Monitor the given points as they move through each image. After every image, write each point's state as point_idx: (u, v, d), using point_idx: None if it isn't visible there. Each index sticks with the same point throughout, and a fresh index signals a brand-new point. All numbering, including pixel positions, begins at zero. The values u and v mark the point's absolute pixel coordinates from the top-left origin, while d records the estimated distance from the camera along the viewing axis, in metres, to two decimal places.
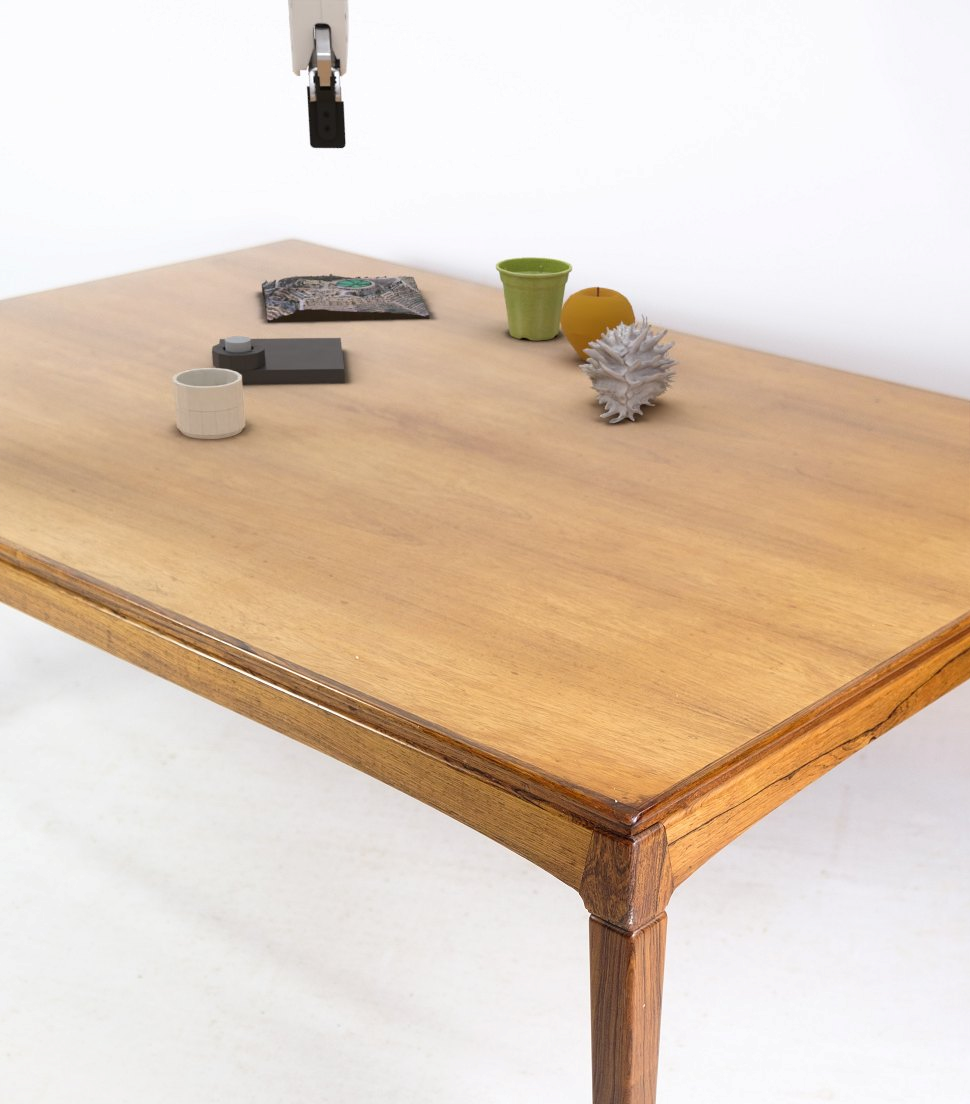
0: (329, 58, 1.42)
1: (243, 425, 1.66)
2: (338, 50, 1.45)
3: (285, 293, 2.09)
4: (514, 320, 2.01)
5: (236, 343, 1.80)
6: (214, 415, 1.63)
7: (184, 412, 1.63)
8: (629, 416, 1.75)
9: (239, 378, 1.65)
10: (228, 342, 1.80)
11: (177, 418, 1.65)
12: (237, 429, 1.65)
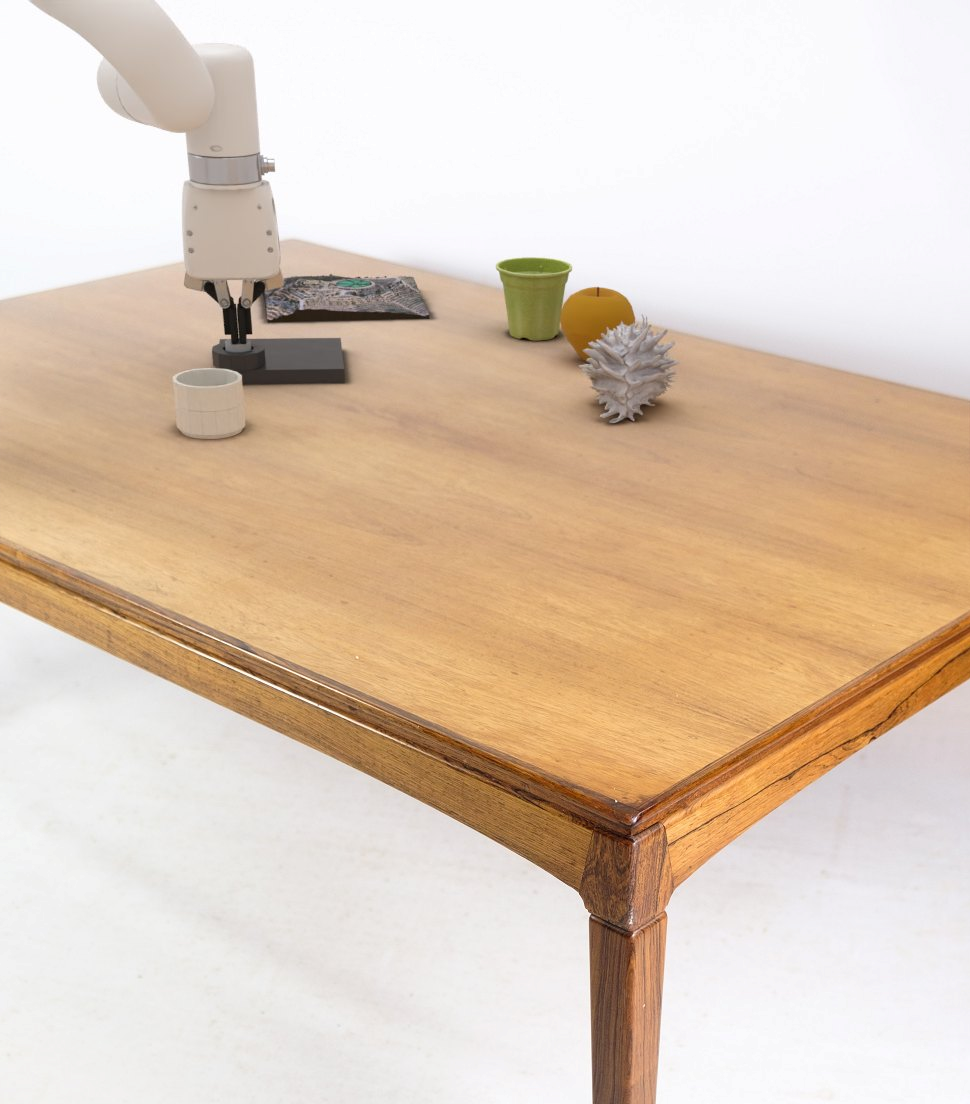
0: (185, 286, 1.77)
1: (243, 425, 1.66)
2: None
3: (285, 293, 2.09)
4: (514, 320, 2.01)
5: (236, 345, 1.80)
6: (214, 415, 1.63)
7: (184, 412, 1.63)
8: (629, 416, 1.75)
9: (239, 378, 1.65)
10: (228, 344, 1.80)
11: (177, 418, 1.65)
12: (237, 429, 1.65)
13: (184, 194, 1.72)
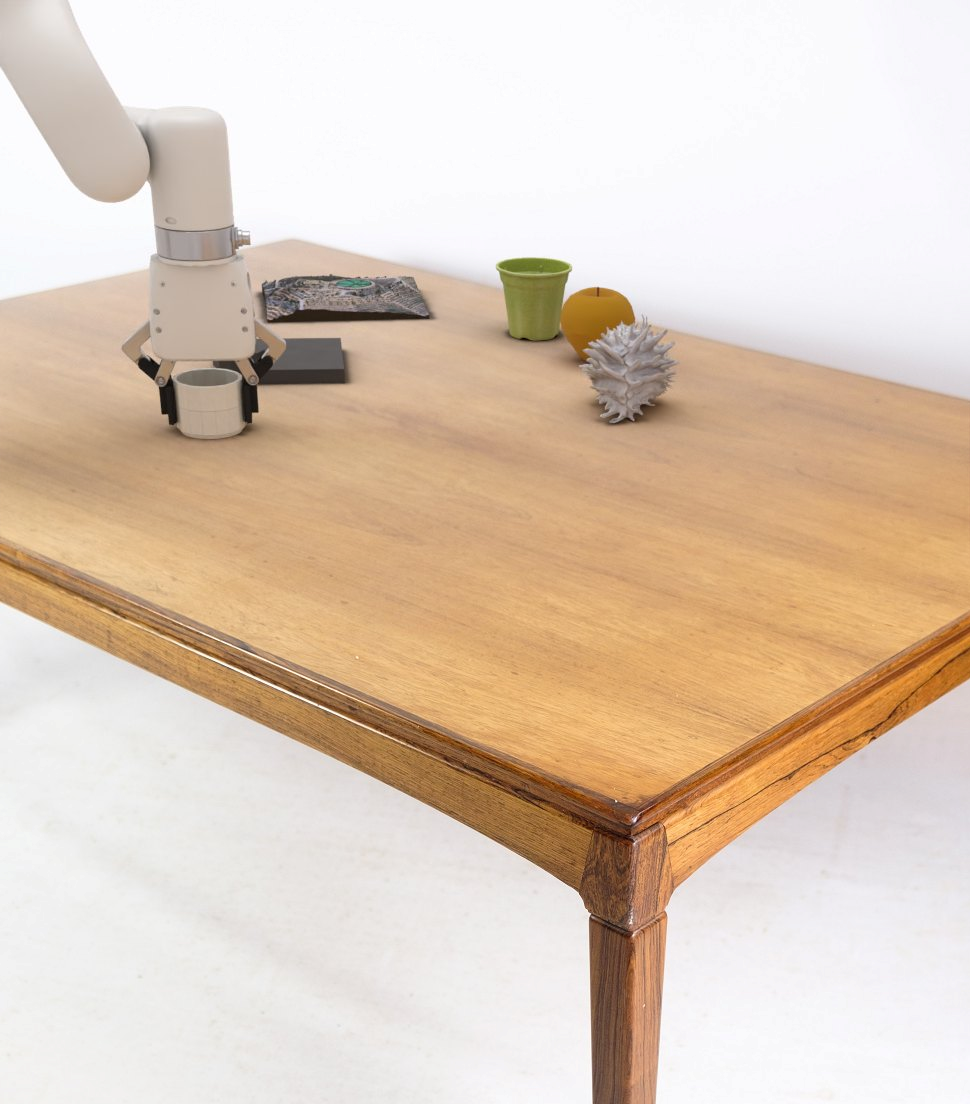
0: None
1: (243, 425, 1.66)
2: None
3: (285, 293, 2.09)
4: (514, 320, 2.01)
5: None
6: (214, 415, 1.63)
7: (184, 412, 1.63)
8: (629, 416, 1.75)
9: (239, 378, 1.65)
10: None
11: (177, 418, 1.65)
12: (237, 429, 1.65)
13: (151, 270, 1.58)
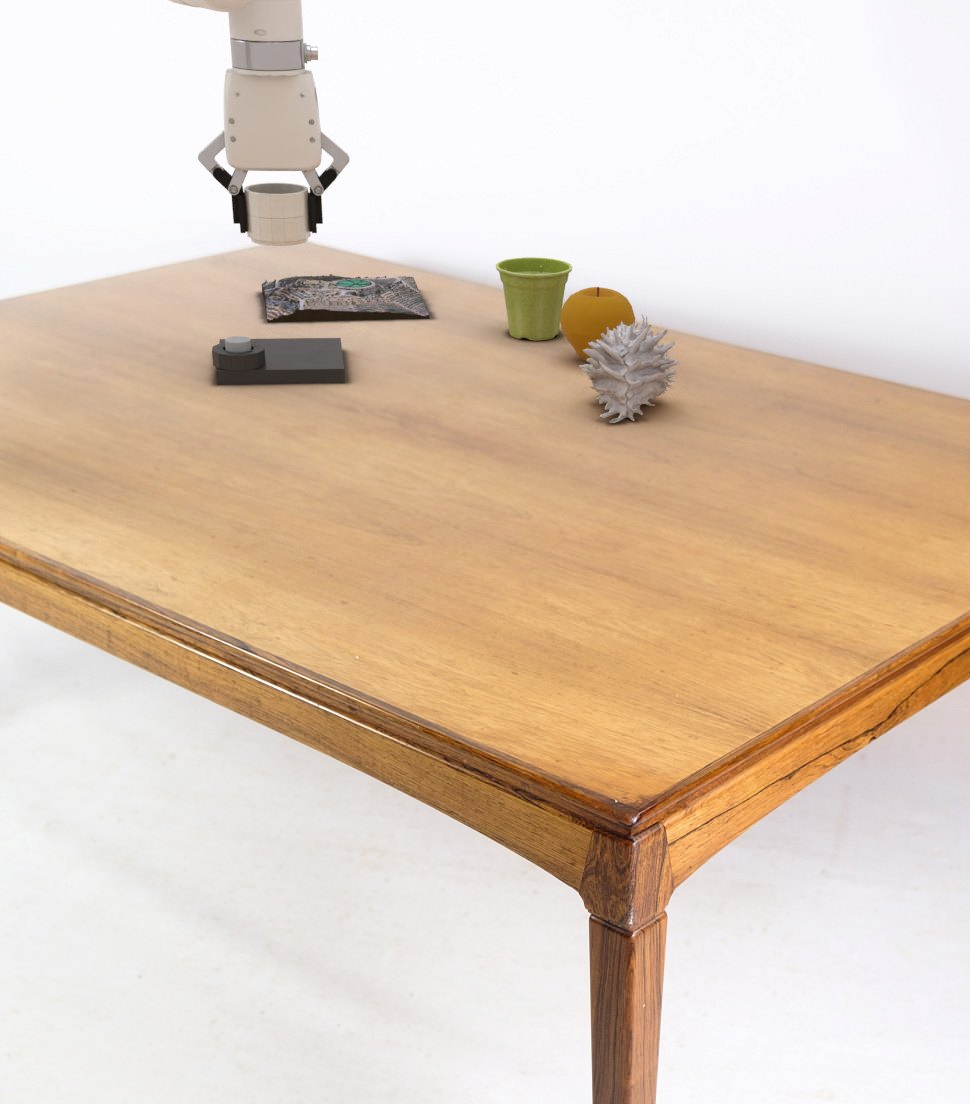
0: (198, 158, 1.74)
1: (309, 235, 1.79)
2: None
3: (285, 293, 2.09)
4: (514, 320, 2.01)
5: (236, 343, 1.80)
6: (283, 222, 1.76)
7: (255, 219, 1.76)
8: (629, 416, 1.75)
9: (306, 189, 1.77)
10: (228, 342, 1.80)
11: (248, 226, 1.78)
12: (303, 237, 1.78)
13: (226, 81, 1.70)
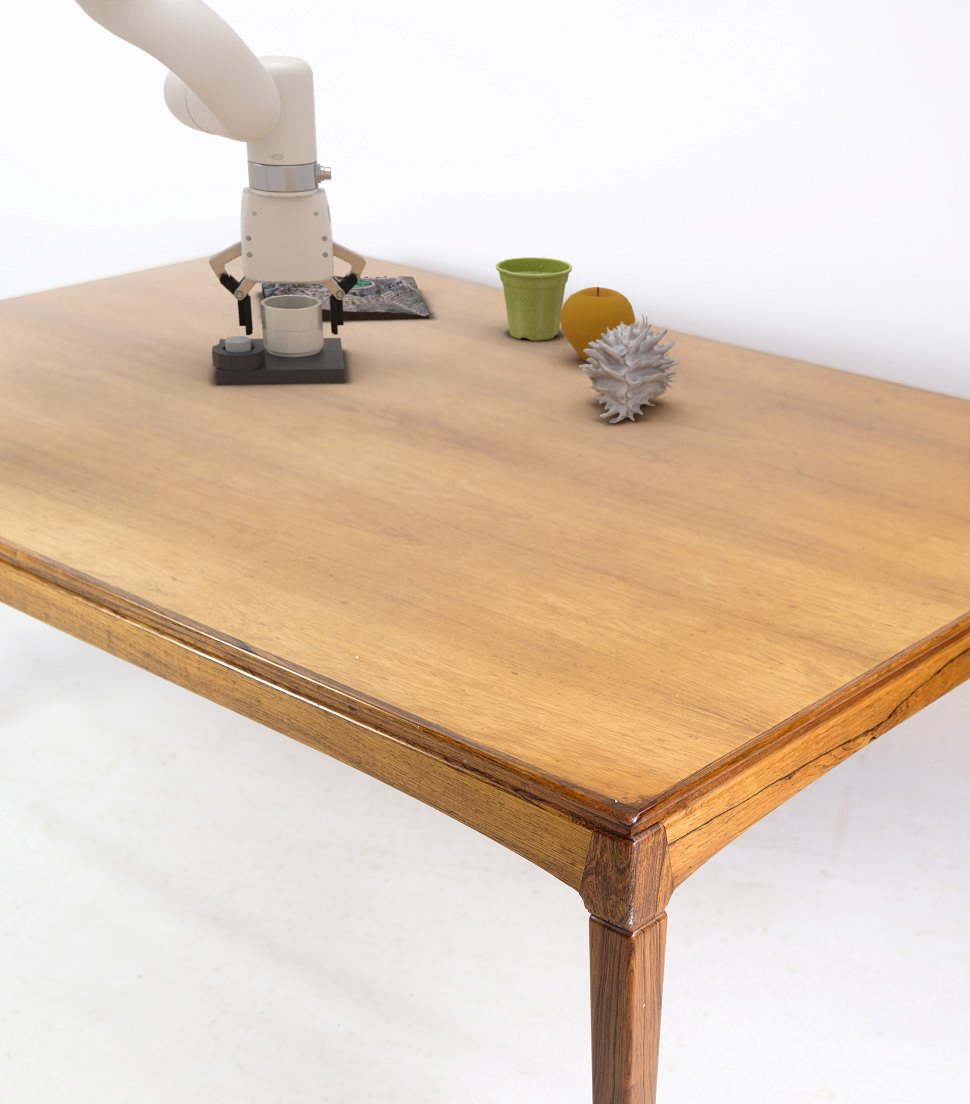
0: (209, 262, 1.81)
1: (322, 345, 1.88)
2: (242, 261, 1.81)
3: (285, 293, 2.09)
4: (514, 320, 2.01)
5: (236, 343, 1.80)
6: (298, 335, 1.84)
7: (271, 332, 1.84)
8: (629, 416, 1.75)
9: (319, 303, 1.86)
10: (228, 342, 1.80)
11: (264, 338, 1.86)
12: (317, 348, 1.86)
13: (244, 200, 1.78)
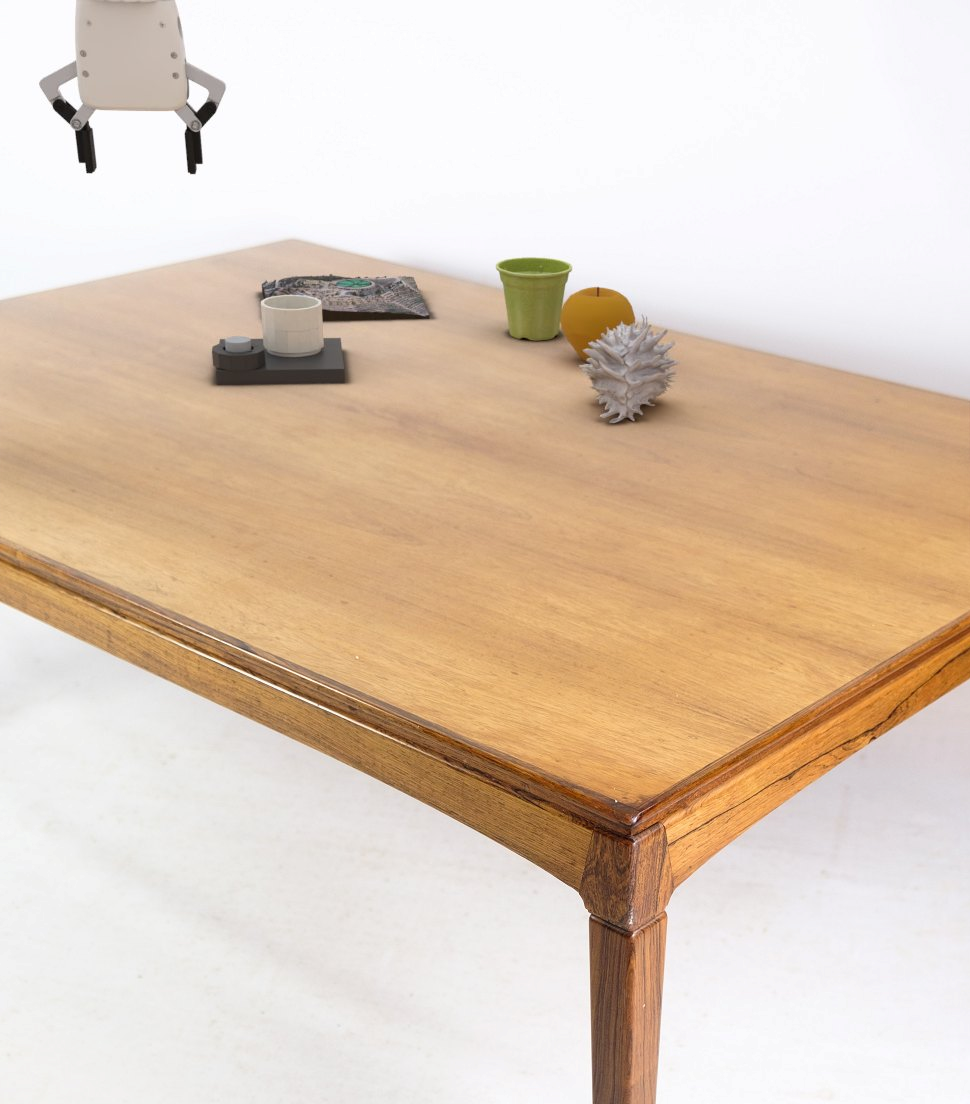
0: (39, 83, 1.55)
1: (322, 345, 1.88)
2: None
3: (285, 293, 2.09)
4: (514, 320, 2.01)
5: (236, 343, 1.80)
6: (298, 335, 1.84)
7: (271, 332, 1.84)
8: (629, 416, 1.75)
9: (319, 303, 1.86)
10: (228, 342, 1.80)
11: (264, 338, 1.86)
12: (317, 348, 1.86)
13: (76, 8, 1.52)
